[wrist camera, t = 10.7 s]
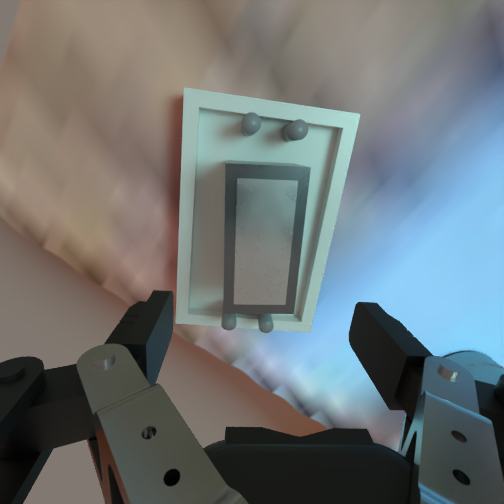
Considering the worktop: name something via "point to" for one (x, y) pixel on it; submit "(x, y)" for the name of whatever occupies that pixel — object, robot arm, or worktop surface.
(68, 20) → the worktop surface
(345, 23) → the worktop surface
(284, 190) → the block
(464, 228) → the worktop surface
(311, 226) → the tray
